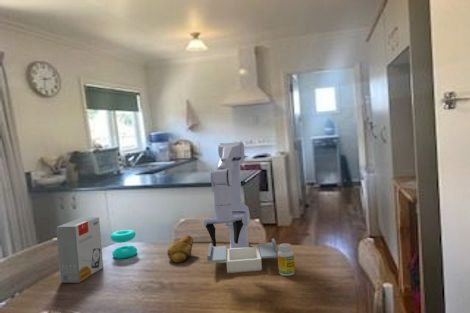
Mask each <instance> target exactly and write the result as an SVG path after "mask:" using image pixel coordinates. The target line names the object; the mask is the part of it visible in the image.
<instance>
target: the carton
mask: <svg viewBox="0 0 470 313" xmlns="http://www.w3.org/2000/svg"><path fill="white" fill-rule="evenodd" d="M225 263H226V273H227V274H231V273H232V274H233V273H244V272H245V273H246V272H256V271H257V272H258V271H263V265H262V264H263V263H262V258H261V254H260V250H259V246H258V245H257V246H249V247H243V248H230V247H229V248H226V261H225Z"/></svg>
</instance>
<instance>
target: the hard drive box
mask: <svg viewBox="0 0 470 313" xmlns="http://www.w3.org/2000/svg"><path fill="white" fill-rule="evenodd" d="M100 225H101V224H100V217H99V216H82V217H79V218H77V219H74V220H72V221H69V222H66V223H64V224H61V225H58V226H56V228H55V230H56V231H55V232H56V240H57V241H56V242H57V252H58V263H59V264H58V266H59V276H60V282H61V283H68V284H69V283H71V284H73V283H74V284H80V283H81V282H82V281H85V280H86V279H88V278H90V277H91V276H92V275H94V274H95V273H97V272H99V271H100V270H101V269H103V268H104V260H103V250H102V248H103V247H102V236H101V228H100V227H101V226H100Z"/></svg>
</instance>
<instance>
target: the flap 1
mask: <svg viewBox="0 0 470 313" xmlns="http://www.w3.org/2000/svg"><path fill="white" fill-rule="evenodd" d="M206 257H207V258H206V260H207V263H220V262H226V257H227V246H226V245H221V246H218V245H217V246H216V247H214V246H213V244H212V242H209V244H208V250H207V256H206Z"/></svg>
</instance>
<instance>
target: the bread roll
mask: <svg viewBox="0 0 470 313" xmlns="http://www.w3.org/2000/svg"><path fill="white" fill-rule="evenodd" d="M193 243H194V239H193V237H192V236H190V235H186V236H183V237H182V238H180V239H179V240H174V241H172V242H170V245H169V246H168V249H167V253H166V254H167V256H168V258H169V260H171V261H172V262H173V263H174V262H175V263H182V262H185V260H186V259H187V258H190V257H191V255H192V250H193Z"/></svg>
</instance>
